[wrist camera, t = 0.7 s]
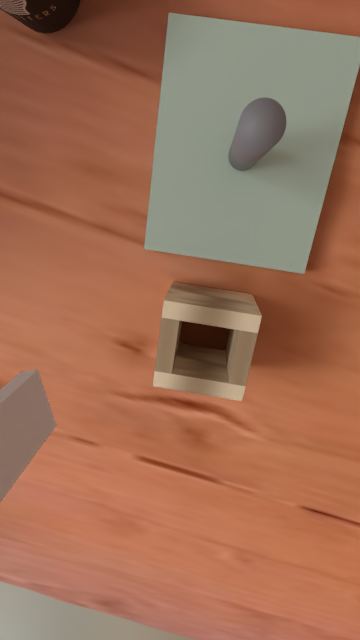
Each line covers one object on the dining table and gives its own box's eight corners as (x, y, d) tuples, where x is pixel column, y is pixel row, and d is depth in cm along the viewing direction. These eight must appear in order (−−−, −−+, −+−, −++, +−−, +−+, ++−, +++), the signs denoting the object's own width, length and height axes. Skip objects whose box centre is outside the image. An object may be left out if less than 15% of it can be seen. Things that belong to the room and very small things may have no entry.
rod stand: (147, 247, 33) (106, 274, 21) (171, 22, 28) (135, -134, 15) (300, 270, 33) (355, 313, 20) (359, 46, 27) (490, -94, 14)
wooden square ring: (163, 353, 37) (152, 385, 30) (173, 281, 34) (163, 300, 28) (236, 365, 37) (242, 401, 30) (252, 294, 34) (261, 316, 27)
